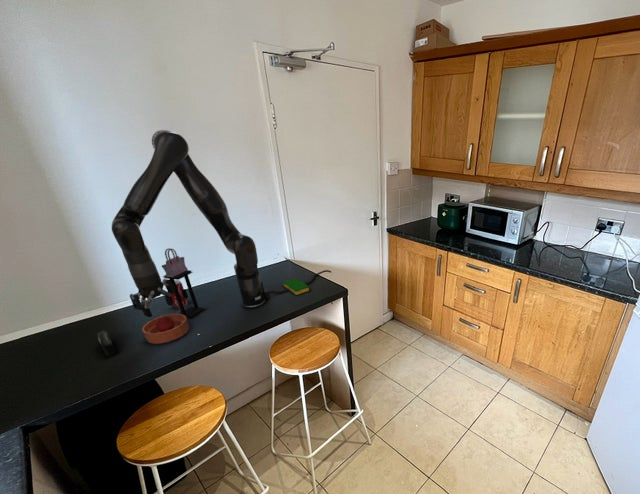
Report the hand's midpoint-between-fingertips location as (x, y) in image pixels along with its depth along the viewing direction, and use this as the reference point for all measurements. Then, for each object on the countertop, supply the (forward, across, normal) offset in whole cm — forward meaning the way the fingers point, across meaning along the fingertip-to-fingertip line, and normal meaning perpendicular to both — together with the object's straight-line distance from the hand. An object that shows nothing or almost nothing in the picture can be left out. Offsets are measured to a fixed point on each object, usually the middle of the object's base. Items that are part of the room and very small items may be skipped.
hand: (160, 310), depth 120 cm
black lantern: (+11, +14, +5) cm, 19 cm away
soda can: (+11, +18, +15) cm, 26 cm away
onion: (+10, 0, 0) cm, 10 cm away
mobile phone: (+10, -14, +14) cm, 22 cm away
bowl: (+10, 0, 0) cm, 11 cm away
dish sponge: (+12, +49, -26) cm, 56 cm away
